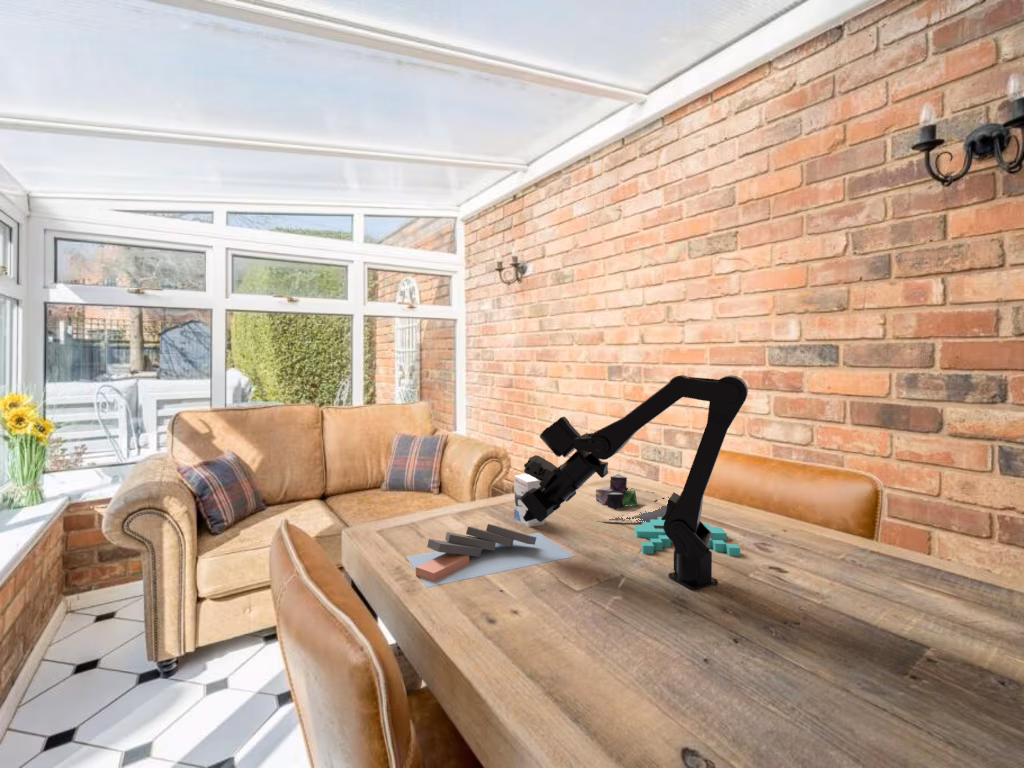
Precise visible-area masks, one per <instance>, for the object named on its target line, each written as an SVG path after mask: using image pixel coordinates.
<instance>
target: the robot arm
mask: <svg viewBox="0 0 1024 768" xmlns="http://www.w3.org/2000/svg"><path fill="white" fill-rule="evenodd" d="M748 395H749V388H748V385H747V383H746V381H745V380H744V379H742V378H741V377H738V376H737V375H726V376H724V377H720V379H715V378H707V377H694V376H693V377H692V376H687V375H684V374H681V375H676V376H673V377H672V378H671V379H670V380H669V381H668V382H667V383H666V384H665V385H664V386H663V387H662V388H660V389H659V390H658V391H656V392H655V393H653V394H652V395H650V396H649V397H648V398H647V399H645V401H643V402H642V403H640V404H639V405H638V406H636V407H635V408H634V409H633V410H631V411H630V412H629V413H628V414H626V415H624V416H623V417H622V418H620V419H618V420H616V421H614V422H612V423H610V424H608V425H606V426H605V427H602V428H600V429H598V430H596V431H594V432H591V433H588V432H585V433H583V434H582V435H581V434H580V432H578V431H577V429H576V428H575V427H574V426H573V425H572V424H571V422H570V421H569V420H568V418H567V417H566V416H561V417H559V418H558V419H557V420H556V421H554V422H553V423H552V424H551V425H550V426H547V427H546V428H545V429H544V430H543V431H542V432H541V433H540V435H539V438H540V439H541V441H542V442H543V443H544V444H545V445H546V446H547V447H548V448H549V449H550V451H551V452H552V453H553V454H554V455H555V456H556V458H560V457H563V458H566V457H568V456H569V455H570V454H571V455H570V457H569V458H568V459H567V460H565V462H563V463H562V464H560V465H559V466H556V465H554V464H553V463H552V462H551V461H549V460H547V459H545V458H544V457H542V456H540V455H533V456H531V457H529V458H528V460H527V462H526V463H524V465H523V466H524V469H523V472H524V474H529V475H531V476H533V477H535V478H536V479H538V480H540V481H541V482H540V483H539V485H540V487H539V488H538V489H537V488H532V489H531V490H529V491H527V492H526V493H525V494H524V495H523V496H522V497H521V501H522V502H523V504H524V505H525V506H526V507H527V508H528V510H527V512H526V514H525V515H524V517H523V519H524V520H525V521H526V522H527V521H530V520H533V519H537V520H538V521H539V522H542V521H543V520H544V519H545V520H546V519H547V518H548V517H550V516H551V515H552V514H553V513H555V511H557V510H558V509H560V508H561V505H562V504H563V503H565V502H566V503H568V501H570V500H571V499H573V498H574V497H575V495H577V490H579V489H580V488H581V487H582V486H583V485H584V484H585V483H586V482H587V481H588V480H589V479H590V478H591V477H592V476H593V475H594V474H595V473H596V474H597V475H598V476H599V477H600V478H602V479H604V477H606V476H607V475H609V469H608V466H609V462H608V461H606V460H608V459H610V458H612V457H613V456H615V455H616V454H618V453H619V452H620V451H621V450H622V449H623V448H624V447H625V446H626V445H627V443H628V442H629V441H630V440H631V439H632V438H633V437H634V436H635V434H636V433H637V432H638V431H640V429H642V428H643V427H645V426H646V425H647V424H649V423H650V422H652V420H654V419H656V418H657V417H658V416H659V415H661V414H662V413H664V412H665V411H666V410H667V409H669V408H670V407H672V406H673V405H674V404H675V403H678V401H679V400H681V399H682V398H685V399H686V398H688V399H693V400H699V401H703V402H709V404H708V412H707V421H706V425H705V428H704V430H703V434H702V436H701V439H700V442H699V445H698V448H697V451H696V452H695V455H694V459H693V461H692V464H691V467H690V470H689V472H688V475H687V478H686V481H685V483H684V486H683V489H682V491H681V493H680V495H679V494H678V493H677V492H673V493H672V494H671V496H669V497H670V498H669V497H668V498H669V500H668V504H667V510H666V512H665V514H664V515H663V517H662V518H661V520H665V522H664V526H663V528H664V531H665V533H666V535H667V537H668V538H669V539H670V540H672V542H673V543H672V545H673V547H674V550H673V572H670V573H668V575H667V576H668V577H669V578H670V579H672V580H674V581H675V582H677V583H679V584H681V585H683V587H684V586H685V587H686V588H688V589H690V590H697V589H702V588H705V587H709V586H712V585H716V584H718V583H719V582H718V581H719V580H718V579H717V578H714V577H713V575H712V574H713V573H712V569H713V568H712V567H713V566H712V565H713V564H712V563H713V562H712V561H713V552H712V551H711V550H710V548H708V545H709V541H710V538H711V534H712V533H711V532H710V531H709V530H708V528H707V527H706V526H705V525H704V524H703V522H702V521H701V519H702V518H701V517H702V512H703V511H702V510H703V503H704V502H703V501H704V495H705V493H706V489H707V486H708V483H709V481H710V478H711V475H712V473H713V471H714V468H715V465H716V462H717V459H718V456H719V455H720V451H721V448H722V445H723V443H724V441H725V437H726V435H727V432H728V429H729V428H730V426H731V425H732V423H733V421H734V420H735V418H736V417H737V415H738V413H739V411H740V410H741V408H742V407H743V405H744V403H745V401H746V399H747V397H748ZM575 450H576V451H575ZM573 451H575V452H574V453H573V454H572V452H573ZM603 460H604V461H603Z"/></svg>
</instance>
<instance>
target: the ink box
mask: <svg viewBox="0 0 1024 768" xmlns="http://www.w3.org/2000/svg"><path fill="white" fill-rule="evenodd" d="M540 482H541V481H540V480H538V479H536V478H535V477H533V476H531V475H529V474H526V473H520V474H515V475H513V486H514V487H513V490H514V491H513V495H514V498H513V500H514V502H513V503H514V504H513V505H514V507H513V508H514V511H513V512H514V519H516V520H517V521H519V522H521V523H522V524H523V525H525V526H526V527H528V528H529V527H537V526H542V525H545V524H546V519H544V520H543V521H542V522H539V521H538V520H537V519H533V520H530V521H527V522H526V521H525V520H524V519H523V517H524V515H525V514H526V512H527V510H528V508H527V507H526V506H525V505H524V504H523V502H522V501H521V497H522V496H523V495H524V494H525V493H526V492H527V491H529V490H531V489H532V488H537V489H538V488H539V487H540V485H539V483H540Z"/></svg>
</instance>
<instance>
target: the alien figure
mask: <svg viewBox="0 0 1024 768" xmlns="http://www.w3.org/2000/svg"><path fill="white" fill-rule="evenodd" d="M661 518H662V517H658V520H651V519H650V522H642V523H641V524H633V527H634V528H633V531H634V534H635V535H636V536H635V537H636V538H645V539H646V540H649V541H641V542H640V545H641V552H642V554H643V555H644V554H645V555H654V552H655V551H663V547H665V548H666V547H667V548H670V547H671V544H673V542H672V540H670V539H669V538H668V537H667V535H666V533H665V531H664V528H663V526H664V522H665V520H661ZM702 523H703V522H702ZM703 524H704V525H705V526H706V527H707V528H708V530H709V531H710V532H711V533H712V534H711V538H710V541H709V545H708V548H709V549H711V548H712V550H713V551H714V552H715V553H716V552H717V553H719V552H720V553H726V554H727V555H728V557H741V547H740V545H738V544H737V543H726V541H727V540H728V539H727V534H728V533H727V532H726V530H724V529H723V527H722V526H711V525H710V524H709V523H703ZM671 548H672V547H671Z"/></svg>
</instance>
